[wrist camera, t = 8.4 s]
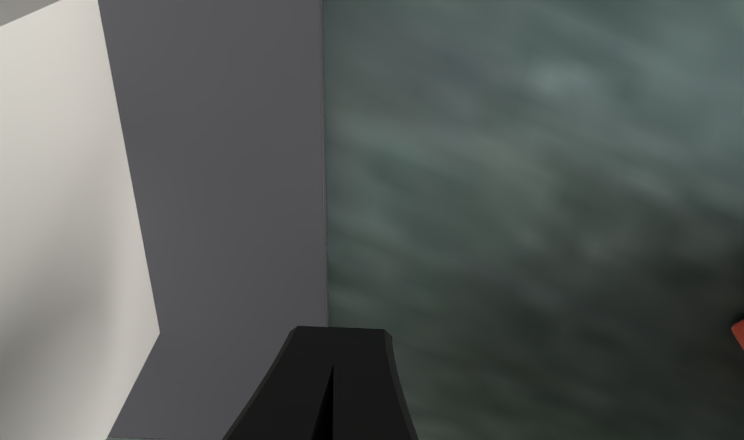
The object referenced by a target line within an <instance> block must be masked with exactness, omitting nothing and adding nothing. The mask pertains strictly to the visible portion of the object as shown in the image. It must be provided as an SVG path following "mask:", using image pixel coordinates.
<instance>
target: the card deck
mask: <svg viewBox="0 0 744 440" xmlns="http://www.w3.org/2000/svg"><path fill="white" fill-rule="evenodd" d="M159 334H160V330H159V325H158V320H157V314H156V309H155V304H154V298H153V293H152V288H151V282H150V277H149V272H148V266H147V261H146V256H145V250H144V245H143V240H142V234H141V229H140V224H139V218H138V213H137V208H136V202H135V197H134V192H133V186H132V181H131V176H130V171H129V165H128V160H127V155H126V149H125V144H124V139H123V133H122V128H121V123H120V117H119V112H118V107H117V101H116V96H115V91H114V85H113V80H112V75H111V69H110V64H109V59H108V53H107V48H106V43H105V37H104V32H103V27H102V21H101V16H100V11H99V5H98V0H0V440H106V438H107V437H108V435H109V433H110V431H111V429H112V427H113V425H114V423H115V421H116V419H117V417H118V415H119V413H120V411H121V409H122V407H123V405H124V403H125V401H126V399H127V397H128V395H129V393H130V391H131V389H132V387H133V385H134V383H135V381H136V379H137V377H138V375H139V373H140V371H141V369H142V367H143V365H144V363H145V361H146V359H147V357H148V355H149V353H150V351H151V349H152V348H153V346H154V344H155V342H156V340H157V338H158V336H159Z"/></svg>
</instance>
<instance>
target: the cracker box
mask: <svg viewBox="0 0 744 440" xmlns="http://www.w3.org/2000/svg"><path fill="white" fill-rule="evenodd" d="M731 329H732V332H733V334H734V336H735V337H736V339H737V341H738V342H739V344H740V345H741V347H742V348H743V350H744V319H743V320H741V321H739V322H738V323H736V324H734V325H733V326H732V328H731Z"/></svg>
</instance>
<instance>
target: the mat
mask: <svg viewBox="0 0 744 440" xmlns="http://www.w3.org/2000/svg"><path fill="white" fill-rule="evenodd" d="M98 5H99V11H100V16H101V21H102V27H103V32H104V37H105V43H106V48H107V53H108V59H109V64H110V69H111V75H112V80H113V85H114V91H115V96H116V101H117V107H118V112H119V117H120V123H121V128H122V133H123V139H124V144H125V149H126V155H127V160H128V165H129V171H130V176H131V181H132V186H133V192H134V197H135V202H136V208H137V213H138V218H139V224H140V229H141V234H142V240H143V245H144V250H145V256H146V261H147V266H148V272H149V277H150V282H151V288H152V293H153V298H154V304H155V309H156V314H157V320H158V325H159V330H160V334H159V336H158V338H157V340H156V342H155V344H154V346H153V348H152V349H151V351H150V353H149V355H148V357H147V359H146V361H145V363H144V365H143V367H142V369H141V371H140V373H139V375H138V377H137V379H136V381H135V383H134V385H133V387H132V389H131V391H130V393H129V395H128V397H127V399H126V401H125V403H124V405H123V407H122V409H121V411H120V413H119V415H118V417H117V419H116V421H115V423H114V425H113V427H112V429H111V431H110V433H109V435H108V437H117V438H138V439H159V440H222V439H223V437H224V436H225V434H226V433H227V432H228V430H229V429H230V427H231V426H232V424H233V423H234V421H235V420H236V419H237V417H238V416H239V414H240V413H241V411H242V410H243V409H244V407H245V406H246V404H247V403H248V401H249V400H250V398H251V397H252V395H253V394H254V392H255V391H256V389H257V388H258V386H259V384H260V383H261V381H262V380H263V378H264V377H265V375H266V373H267V372H268V370H269V368H270V367H271V365H272V363H273V362H274V360H275V358H276V357H277V355H278V353H279V351H280V349H281V348H282V346H283V344H284V342H285V340H286V338H287V336H288V334H289V332H290V331H291V330H293V329H294V328H295V327H296V326H317V327H328V274H327V219H326V164H325V109H324V55H323V0H98Z"/></svg>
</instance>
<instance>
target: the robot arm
mask: <svg viewBox="0 0 744 440" xmlns="http://www.w3.org/2000/svg"><path fill="white" fill-rule="evenodd" d="M222 440H419V439H418V436H417V434H416V431H415V428H414V426H413V423H412V420H411V417H410V414H409V411H408V408H407V405H406V402H405V398H404V395H403V391H402V388H401V384H400V381H399V377H398V373H397V369H396V364H395V359H394V353H393V346H392V336H391V335H390V334H389V333H388V332H387V331H386V330H385V329H364V328H340V327H317V326H296V327H295V328H294V329H293V330H291V331H290V332H289V334H288V336H287V338H286V340H285V342H284V344H283V346H282V348H281V349H280V351H279V353H278V355H277V357H276V358H275V360H274V362H273V363H272V365H271V367H270V368H269V370H268V372H267V373H266V375H265V377H264V378H263V380H262V381H261V383H260V384H259V386H258V388H257V389H256V391H255V392H254V394H253V395H252V397H251V398H250V400H249V401H248V403H247V404H246V406H245V407H244V409H243V410H242V411H241V413H240V414H239V416H238V417H237V419H236V420H235V421H234V423H233V424H232V426H231V427H230V429H229V430H228V432H227V433H226V434H225V436H224V437H223V439H222Z"/></svg>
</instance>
